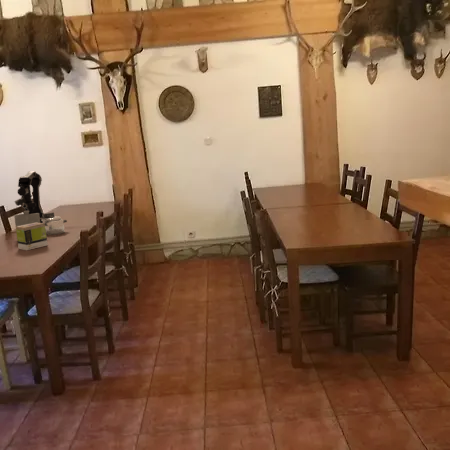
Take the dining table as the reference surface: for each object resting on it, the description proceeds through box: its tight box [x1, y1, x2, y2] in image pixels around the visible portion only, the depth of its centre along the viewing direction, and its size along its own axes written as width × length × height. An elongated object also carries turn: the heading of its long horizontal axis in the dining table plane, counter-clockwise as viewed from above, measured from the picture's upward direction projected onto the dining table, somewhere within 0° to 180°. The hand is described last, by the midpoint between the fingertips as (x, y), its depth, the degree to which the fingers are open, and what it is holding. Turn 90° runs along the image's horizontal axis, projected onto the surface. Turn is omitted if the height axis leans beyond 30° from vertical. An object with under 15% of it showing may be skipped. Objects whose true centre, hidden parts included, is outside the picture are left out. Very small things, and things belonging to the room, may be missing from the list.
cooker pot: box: [43, 218, 68, 236], centre depth 376 cm, size 13×18×9 cm
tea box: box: [15, 222, 49, 251], centre depth 332 cm, size 15×10×15 cm, turn 141°
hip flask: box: [13, 210, 40, 242], centre depth 356 cm, size 16×4×20 cm, turn 104°
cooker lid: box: [41, 212, 62, 222], centre depth 379 cm, size 14×14×4 cm
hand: (29, 215), depth 377 cm, fingers open, 4 cm apart
